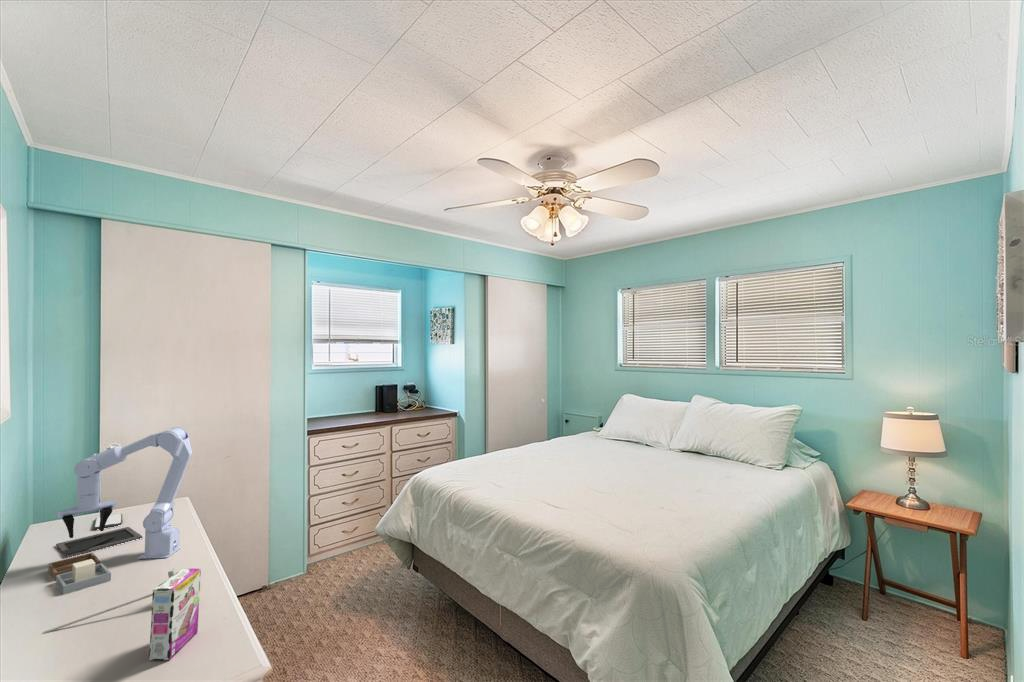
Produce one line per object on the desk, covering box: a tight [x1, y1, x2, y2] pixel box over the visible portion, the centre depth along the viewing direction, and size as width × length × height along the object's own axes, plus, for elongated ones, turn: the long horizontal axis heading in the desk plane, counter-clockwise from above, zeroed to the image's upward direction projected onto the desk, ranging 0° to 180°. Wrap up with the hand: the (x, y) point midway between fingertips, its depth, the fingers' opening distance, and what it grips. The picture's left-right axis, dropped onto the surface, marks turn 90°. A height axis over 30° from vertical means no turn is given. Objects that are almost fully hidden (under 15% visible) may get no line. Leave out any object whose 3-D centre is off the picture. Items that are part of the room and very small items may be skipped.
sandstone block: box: [72, 559, 95, 583], centre depth 142 cm, size 4×4×5 cm
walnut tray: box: [47, 552, 102, 582], centre depth 149 cm, size 11×11×2 cm
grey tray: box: [55, 562, 112, 595], centre depth 142 cm, size 11×11×2 cm
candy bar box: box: [148, 568, 202, 662], centre depth 112 cm, size 11×5×16 cm, turn 5°
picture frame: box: [55, 526, 143, 559], centre depth 171 cm, size 16×2×21 cm
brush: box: [42, 567, 177, 635], centre depth 125 cm, size 4×27×9 cm, turn 122°
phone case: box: [93, 513, 123, 531], centre depth 191 cm, size 9×2×16 cm
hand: (86, 533), depth 156 cm, fingers open, 7 cm apart
